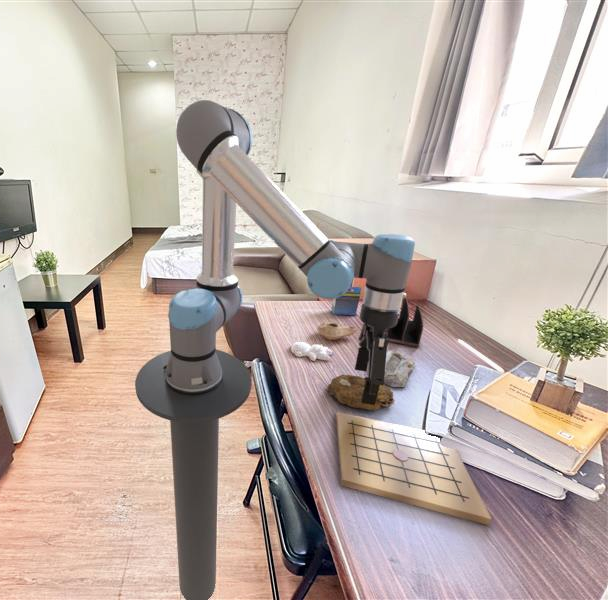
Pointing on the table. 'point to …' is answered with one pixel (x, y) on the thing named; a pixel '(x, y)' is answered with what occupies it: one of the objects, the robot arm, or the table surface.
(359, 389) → the decorative rock
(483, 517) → the grid board
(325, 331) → the pottery oil lamp
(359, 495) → the table surface
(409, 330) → the letter holder
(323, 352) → the astronaut figurine
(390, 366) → the fossil
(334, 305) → the label tape box
